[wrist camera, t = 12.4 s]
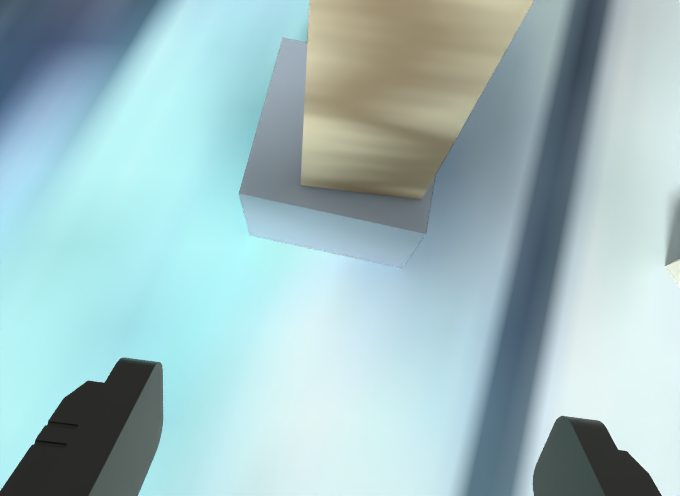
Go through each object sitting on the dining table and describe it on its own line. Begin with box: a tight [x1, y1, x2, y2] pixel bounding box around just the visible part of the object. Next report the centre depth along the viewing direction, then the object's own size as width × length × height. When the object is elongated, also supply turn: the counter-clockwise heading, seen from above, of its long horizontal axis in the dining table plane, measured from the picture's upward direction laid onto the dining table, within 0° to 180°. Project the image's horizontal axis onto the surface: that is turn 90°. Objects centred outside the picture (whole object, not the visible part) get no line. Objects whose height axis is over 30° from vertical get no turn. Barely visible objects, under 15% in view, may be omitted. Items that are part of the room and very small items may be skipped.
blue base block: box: [239, 38, 435, 268], centre depth 23 cm, size 7×7×5 cm
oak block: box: [300, 0, 534, 200], centre depth 16 cm, size 4×4×10 cm
